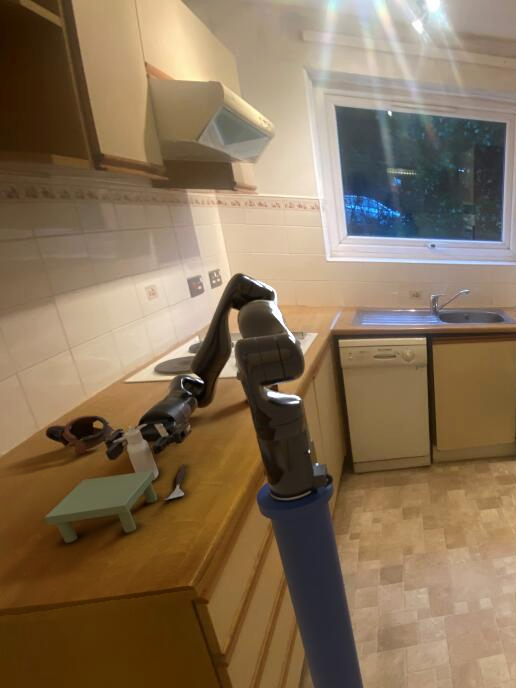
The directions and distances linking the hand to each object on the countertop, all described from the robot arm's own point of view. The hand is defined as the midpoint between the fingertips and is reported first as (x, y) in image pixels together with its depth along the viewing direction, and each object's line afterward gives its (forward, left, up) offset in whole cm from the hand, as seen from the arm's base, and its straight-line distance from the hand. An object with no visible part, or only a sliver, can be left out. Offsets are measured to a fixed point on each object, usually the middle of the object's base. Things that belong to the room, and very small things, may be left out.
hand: (133, 453), depth 88 cm
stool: (0, +12, -7) cm, 14 cm away
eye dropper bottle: (0, -2, -7) cm, 8 cm away
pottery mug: (+20, -21, -7) cm, 30 cm away
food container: (-13, -41, -7) cm, 44 cm away
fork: (-7, +3, -7) cm, 11 cm away
